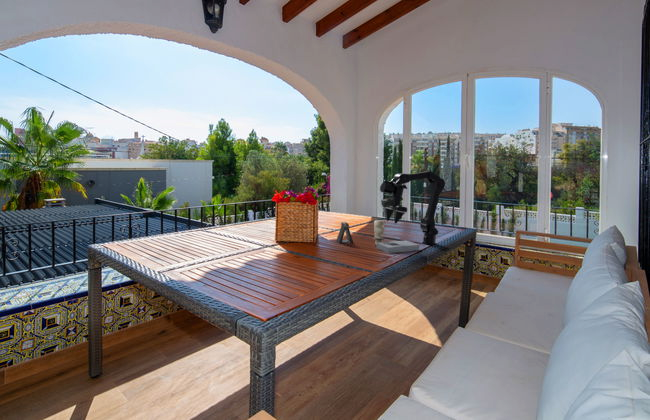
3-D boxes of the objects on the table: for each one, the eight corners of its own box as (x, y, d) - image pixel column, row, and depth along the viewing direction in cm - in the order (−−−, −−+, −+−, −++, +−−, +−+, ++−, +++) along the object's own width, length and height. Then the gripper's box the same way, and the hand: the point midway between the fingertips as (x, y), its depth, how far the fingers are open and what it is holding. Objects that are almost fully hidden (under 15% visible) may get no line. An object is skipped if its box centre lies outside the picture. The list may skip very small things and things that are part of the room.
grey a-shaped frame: (350, 240, 218) (350, 221, 217) (353, 242, 212) (353, 222, 211) (336, 241, 216) (336, 221, 214) (338, 243, 210) (339, 223, 209)
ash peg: (380, 242, 212) (381, 219, 211) (385, 245, 207) (386, 221, 205) (371, 243, 210) (372, 220, 208) (376, 245, 204) (377, 222, 203)
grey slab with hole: (406, 245, 206) (406, 240, 206) (419, 250, 195) (419, 244, 195) (376, 248, 199) (376, 242, 198) (388, 253, 188) (388, 247, 187)
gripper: (377, 191, 207) (371, 217, 208) (392, 194, 189) (386, 222, 190) (393, 194, 210) (388, 220, 211) (410, 197, 193) (404, 225, 194)
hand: (391, 222), depth 202 cm, fingers open, 9 cm apart
